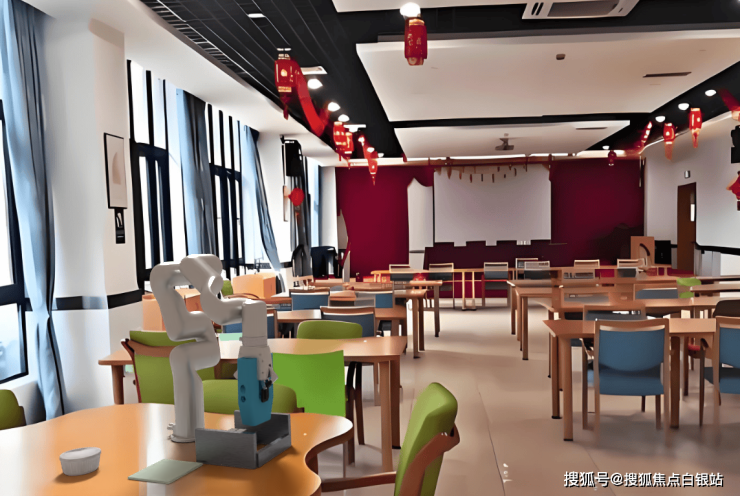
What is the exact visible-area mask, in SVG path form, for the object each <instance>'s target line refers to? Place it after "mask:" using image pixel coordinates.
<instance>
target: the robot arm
mask: <svg viewBox="0 0 740 496" xmlns="http://www.w3.org/2000/svg"><path fill="white" fill-rule="evenodd" d="M223 268H224V267H223V262H222V261H221V259H220V258H219V257H218V256H217V255H215V254H212V253H207V254H206V253H201V254H190V255H187V256H184V257H183V258H182V259H181V260H180V261H165V262H162V263H158V264H156V265H155V266H153V267H152V270H151V272H150V273H149V274H150V275H149V285H150V290H151V292H152V294H153V296H154V297H153V298H155V300H156V302H157V305H158V307H159V310H160V313H161V315H160V316H161V318H162V322H163V325H164V329H165V332H166V334H167V337H168V338H169V340H170V341H171V342H183V341H184V342H185V341H189V340H195V341H193V342H192V341H191V342H187V343H182V344H179V345H176V346H175V347H174V348H172V350H170V353H169V365H170V369H171V373H172V380H173V381H172V382H173V400H174V402H173V403H174V422H169V424H168V425H167V427H166V429H167V431H172V434H171V435H170V440H171V441H173V442H175V443H191V442H195V429H197V428H206V426H205V423H206V422H205V401H204V400H205V399H204V398H205V397H204V383H203V380H202V378H201V377H200V375H199V374H198V371H199V370H203V369H208V368H212V367H215V366H217V364H219V362H220V361H221V348H220V345H219V341H218V338H217V334H216V332H215V328H214V325H213V323H215V324H217V325H219V326H229V325H234V324H241V336H240V337H239V338H238V339H239V342H241V344H242V345H240V346H239V350H238V357H237V359H238V358H241V357H246V358H257V380H260V381H261V384H262V387H263V389H261V402H262V403H264V402H266V401H268V399H269V387H271V385H272V384H273V385H274V383H275V382H276V381H277V380H278V379H279V375H278V374H277V373H276V372H275V370H274V367H273V368H272V357H271V353H272V351H271V347H270V345H268V309H267V307H268V305H267V303H266V301H265V300H258V299H257V300H253V299H250V298H234V299H226V300H224V299H223V300H221V299H220V298H218V296H217V295H218V294H220V292H221V291H222V289H223V287H224V282H225V281H224V278H223V277H222V272H223V270H224V269H223ZM181 286H182V287H183V286H184V287H185V286H192V287H194V289H195V290H197V291H198V292H199V293H200V295H199V303H200V307H201V309H202V310H196V311H189V310H188V308H187V305H186V301H185V299H184V297H183V296H182V294H180V293H179V291H177V290H176V289H175V288H174V287H181ZM233 377H234V378H235V379H236V380H237V381H238V371H237V370H236V371H234V373H233ZM269 377H271V379H270V380H269Z"/></svg>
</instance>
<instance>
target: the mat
mask: <svg viewBox="0 0 740 496" xmlns="http://www.w3.org/2000/svg"><path fill="white" fill-rule="evenodd" d="M203 465H204V464H203V463H198V462H196V461H195V462H194V461H187V460H177V459H170V458H162V459H160V460H159V461H156V462H154V463H153V464H151V465H149V466H147V467H145V468H143V469H140V470H138V471H137V472H135V473H133V474H131V475H128V476H127V480H134V481H140V482H148V483H158V484H164V485H165V484H167V485H169V484H171V483H173V482H175V481H177V480H178V479H180V478H182V477H184V476H186V475H188V474H189V473H191V472H193V471H195V470H196V469H198V468H200V467H202V466H203Z"/></svg>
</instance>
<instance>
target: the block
mask: <svg viewBox="0 0 740 496" xmlns="http://www.w3.org/2000/svg"><path fill="white" fill-rule="evenodd" d="M273 356H274V355H273V352H271V357H272V368H273V369H274V363H273V362H274V360H273ZM236 362H237V365H236V367H237V369H236V371H238V380H237V405H238V410H240V415H241V419H242V424H243V425H249V426H256V425H258V424H261V423H263V422H265V421H268V420H270V418H271V412H272V409H273V405H274V404H273V403H274V383H273V384H272V385H271V387H269V399H268V401H266V402H264V403H262V402H261V389H263V387H262V384H261V381H260V380H257V358H246V357H241V358H238V357H237V359H236ZM270 379H271V377H269V380H270Z"/></svg>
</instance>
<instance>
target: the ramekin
mask: <svg viewBox="0 0 740 496" xmlns="http://www.w3.org/2000/svg"><path fill="white" fill-rule="evenodd" d="M101 454H102V449H101V448H100V447H98V446H97V447H96V446H87V447H77V448H73V449H70V450H66V451H64V452H62V453H61V454H60V455H58V457H59V458H58V459H59V461H60V465H61V469H62V474H65V475H66V476H68V477H69V476H70V477H74V476H83V475H86V474H90V473H93V472H95V471H96V470H97V469H98V468H99V466H100V461H101Z"/></svg>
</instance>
